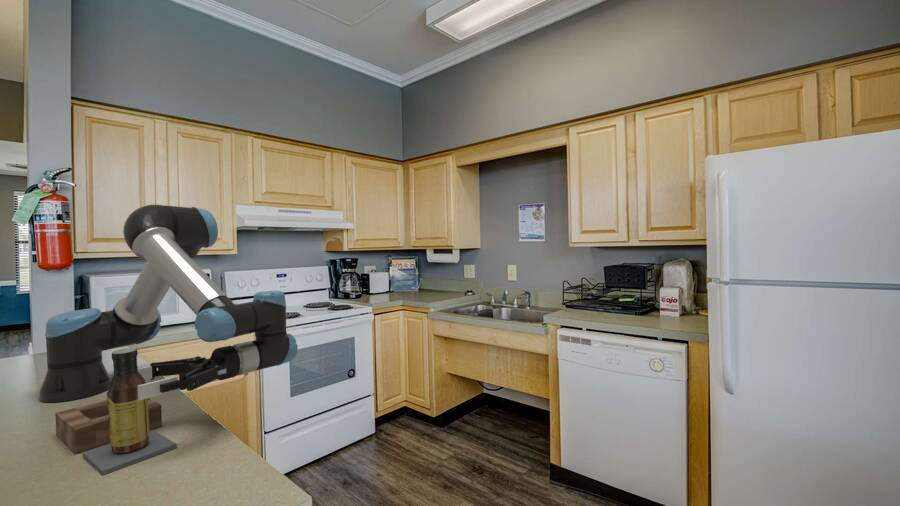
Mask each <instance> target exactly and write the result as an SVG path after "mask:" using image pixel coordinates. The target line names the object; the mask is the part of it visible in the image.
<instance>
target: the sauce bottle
mask: <svg viewBox="0 0 900 506" xmlns="http://www.w3.org/2000/svg"><path fill="white" fill-rule="evenodd" d="M138 353H139V352H138V348H136V347H128V348H121V349H117V350H114V351H112V352H111V360H112V364H113V365H112V366H113V372H112V374H113V375H112V378H111V379H110V380H111V383H110V386H109V389H107V393H106V398H107V399H106V400H107V402H108V416H109V418H108V419H109V431H110V443H109V444H111V447H112V451H113V452H114V453H127V452H133V451H136V450H138V449H140V448H142V447H144V446H146V445H147V444H148V442H149V434H150V432H149V431H150V430H149V417H148V402H147V399H143V400H138V385H142V384H146V380H145V379H144V378H143V377H142V375H141V374H140V373H139V372H138V368H139V366H138Z"/></svg>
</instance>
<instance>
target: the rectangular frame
mask: <svg viewBox="0 0 900 506" xmlns="http://www.w3.org/2000/svg"><path fill="white" fill-rule="evenodd" d="M147 402H148V417H149V431H151V430H155V428H156V429H158V427H159V428H161V426H162V427H163V415H162V404H161V403H159V402H156V401H155V400H153V399H151V398H147ZM108 418H109V416H108V402H107V399H105V400H102V401H97V402H93V403H90V404H86V405H83V406H78V407H74V408H70V409H66V410H61V411H59V412H58V411H57V412H55V436H56V437H57V438H58V439H59V440H61V441H62V443H63V444H64V445H66V447H67V448H68V449H70V450H71V451H72V452H73V453H74V454H75V455H78V454H82V453H83V452H86V451H89V450H93V449H96V448H99V447H102V446H105V445H108V444H110V431H109V419H108Z"/></svg>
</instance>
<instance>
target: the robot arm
mask: <svg viewBox="0 0 900 506" xmlns="http://www.w3.org/2000/svg"><path fill="white" fill-rule="evenodd" d="M122 232H123V237H124V241H125V243H126V245H127V246H128V248H129V249H130V250H131V252H132V253H133V254H134V255H135V256H136V257H137V258H140V259H145V260H146V263H145V264H144V266H143V268H142V270H141V272H140V273H139V275H138V277H137V278H136V280H135V282H134V284H133V286H132V287H131V289H130V290H129V292H128V294H127V296H126V297H124V298H121V299H119V300H118V301H117V302H116V303H115V305H114V306H113V307H112V309H111V310H106V311H101V310H100V309H99V308H93V307H92V308H84V309H77V310H72V311H67V312H63V313H59V314H56V315H54V316H52V317H50V318H48V320H47V321H46V324H45V333H44V336H45V343H46V344H45V345H46V346H45V347H46V364H47V365H46V366H47V371H46V374H45V376H44V379H43V382H42V384H41V387H40V389H39V401H40V402H42V403H59V402H68V401H74V400H79V399H83V398H88V397H92V396H95V395H98V394H100V393H103V392H106V391H108V389H109V386H110V383H111V380H112V379H111V378H110V375H109V373H108V371H107V369H106V366H105V365H104V362H103V351H108V350H112V349H113V350H114V349H117V348H118V349H119V348H124V347H128V346H133V345H139V344H143V343H146V342H148V341H151V340H152V339H154V338H155V337H156V336H157V335H158V334H159V332H160V330H161V326H162V324H161V323H162V316H161V314H160V311H159V306H160V305H161V303H162V301H163V299H164V298H165V297H166V296H167V293H168V291H169V290H170V288H171V289H172V290H173V291H174V292H175V293H176V294H177V296H179V298H180V300H182V301H183V302H184V303H185V304H186V305H187V307H188V308H189V309H190V310H191V311H192V312H193V313H194V314H195V315H196V316H195V320H194V330H196V335H197V337H198V338H199V339H200V340H201V341H203V342H206V343H214V342H215V343H216V342H221V341H226V340H227V341H228V340H229V339H233V338H237V337H240V336H241V337H242V336H244V335H249V334H253V333H254V336H255V339H254V340H251V341H244V342H239V343H236V344H233V345H226V346H221V347H217V348H214V349H213V351H212V352H211V356H210V357H209V358H207V357H205V356H204V357H201V356H194V357H190V358H182V359H181V358H180V359H174V360H166V361H159V362H157V361H156V362H150V364H149V365H148V366H144V367H140V368H139V367H138V372H139V373H140V374H141V375H142V377H143V378H144V379H145V381H147V380H150V381H151V382H147V383H146V384H142V385H138V400H143V399H147V398H149V399H151V398H155V397H157V396H158V397H159V396H162V395H165V394H169V393H172V392H173V393H174V392H176V391H184V390H186V391H187V392H188V391H189V392H191V391H194V390H196V389H198V388H200V387H203V386H205V385H207V384H209V383H211V382H213V381H217V380H218V381H225V380H227V379H231V378H235V377H236V376H242V375H244V377H245V376H249V373H253V372H256V371H259V370H261V371H262V370H265V369H269V368H272V367H278V366H281V365H284V364H287V363H289V362H291V361H293V360H294V359H295V358H296V356H297V354H298V349H299V347H298V344H297V340H296V338H295V336H294V335H292V334H291V333H287V332H288V331H287V304H286V296H285V293H284V292H283V291H281V290H265V291H258V292H255V293H254V294H253V299H252V301H250V302H249V301H248V302H243V303H242V302H241V303H234V302H233V301H232V300H231V299H230V297H228V296H227V294H226V293H224V292H223V290H222V289H221V288H220V287H219V286H218V285H217V284H216V283H215V282H214V281H213V280H212V279H211V277H209V276H208V274H207V273H206V272H205V271H204V270H203V269H202V268H201V267H200V266H199V265H198V263H196V261H194V260H193V259H195V258H196V257H197V255H198V254H199V252H200V251H201V249H203V248H204V249H206V248H207V249H209V248H210V247H213V245H215V244H216V242H217V239H218V234H219V229H218V222H217V219H216V218H215V216H214V215H213V214H212V213H211V212H210V211H209V210H207V209H205V208H198V207H195V206H191V207H190V206H189V207H185V206H177V205H176V206H175V205H165V204H164V205H163V204H147V205H143V206H141V207H139V208H137V209H135V210H134V211H133V212H131V213H130V214H129V215H128V217H127V218H126V220H125V222H124V225H123V231H122ZM166 376H167V378H162V379H159V380H155V378H156V377H166ZM168 376H171V377H168ZM153 380H155V381H153Z"/></svg>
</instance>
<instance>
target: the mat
mask: <svg viewBox="0 0 900 506" xmlns="http://www.w3.org/2000/svg"><path fill="white" fill-rule="evenodd" d="M149 432H150V434H149V442H148V444H147V445H146V446H144V447H142V448H140V449H138V450H136V451H133V452H127V453H114V452H113V451H112V447H111V444H110V443H109V444H106V445H103V446H100V447H97V448H94V449H91V450H88V451H84V452H82V458H83V459H84V460H86V462H88V464H89V465H91V467H93V468H94V469H95V470H96V471H97V472H98V473H99V474H100V475H101V476H104V475H105V476H106V475H107V474H110V473H113V472H116V471H118V470H121V469H123V468H126V467H129V466H131V465H134V464H137V463H139V462H143V461H145V460H148V459H151V458H153V457H156V456H158V455H161V454H165V453H166V452H169V451H172V450H176V449H177V448H178V444H177V443H176V442H175V441H172V440H171V439H170V438H168V437H166V436H165V435H163V434H161V433H160V432H158V431H156V430H155V429H152V430H149Z"/></svg>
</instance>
